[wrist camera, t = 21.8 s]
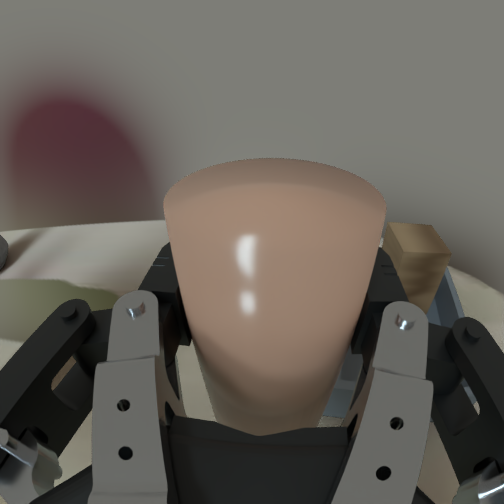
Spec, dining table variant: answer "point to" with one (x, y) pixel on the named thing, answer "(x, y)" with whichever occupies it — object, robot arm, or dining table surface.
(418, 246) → the walnut block
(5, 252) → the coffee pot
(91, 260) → the dining table surface
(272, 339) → the terracotta cylinder
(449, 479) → the dining table surface
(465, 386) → the blue-gray tote
